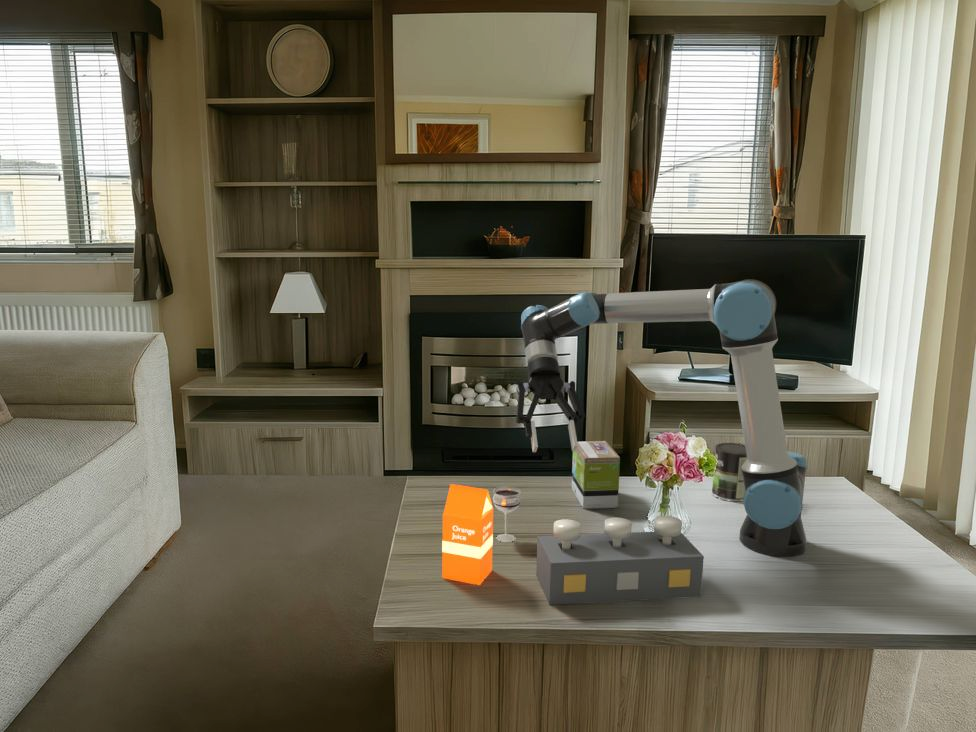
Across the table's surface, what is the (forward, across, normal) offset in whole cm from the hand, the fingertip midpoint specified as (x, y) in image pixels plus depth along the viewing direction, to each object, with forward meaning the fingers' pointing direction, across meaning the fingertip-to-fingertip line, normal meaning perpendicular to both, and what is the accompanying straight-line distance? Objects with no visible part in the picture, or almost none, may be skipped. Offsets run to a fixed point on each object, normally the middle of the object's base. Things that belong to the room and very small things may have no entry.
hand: (555, 448), depth 168 cm
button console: (+28, -11, -9) cm, 32 cm away
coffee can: (-6, -60, -44) cm, 75 cm away
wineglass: (+10, +8, -27) cm, 30 cm away
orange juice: (+23, +20, -15) cm, 33 cm away
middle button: (+23, -11, -5) cm, 26 cm away
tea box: (-7, -20, -44) cm, 49 cm away
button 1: (+23, 0, -5) cm, 24 cm away
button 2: (+23, -22, -5) cm, 32 cm away
